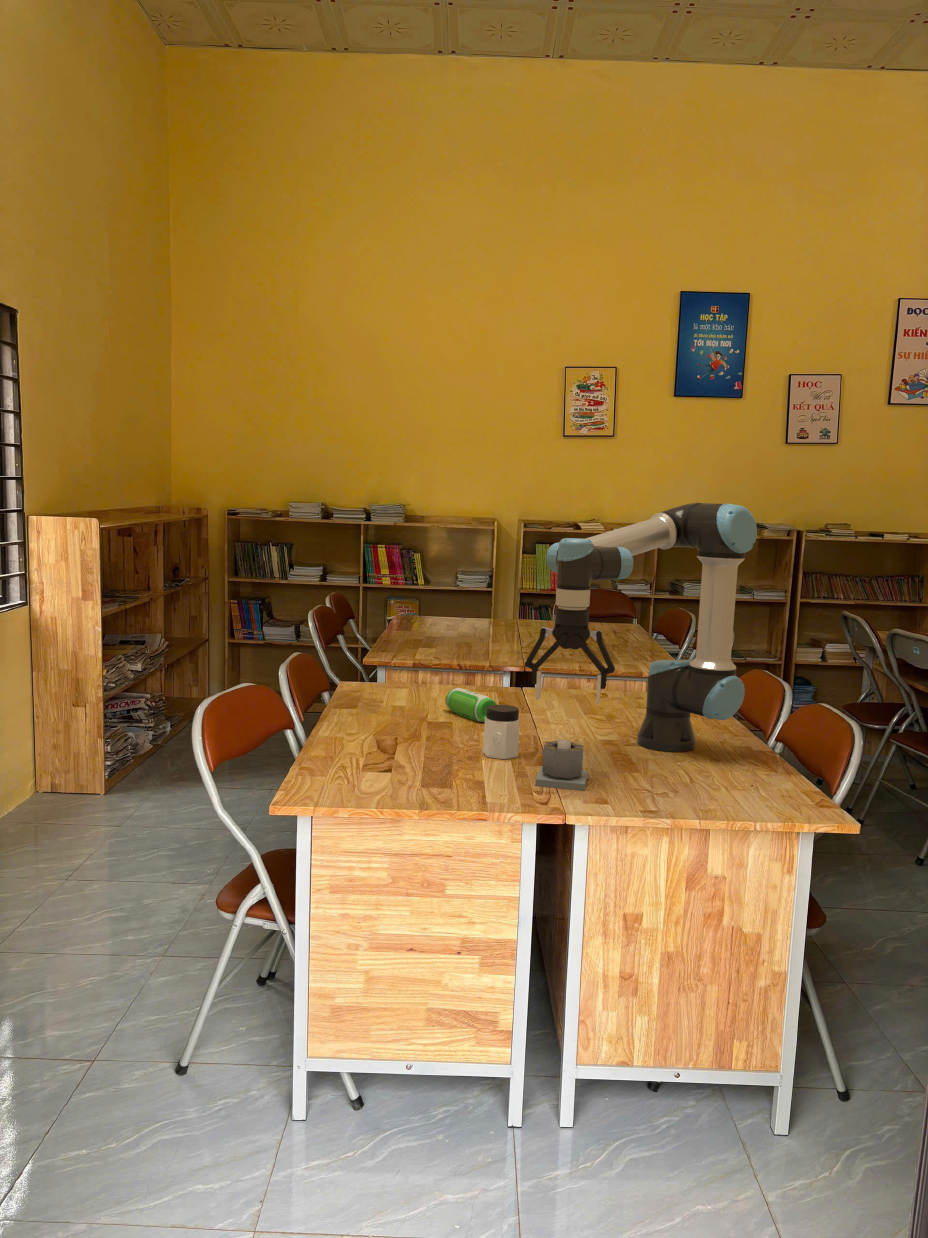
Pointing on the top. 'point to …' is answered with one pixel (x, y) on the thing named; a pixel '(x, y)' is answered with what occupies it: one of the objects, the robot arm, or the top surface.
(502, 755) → the jar
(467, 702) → the speaker
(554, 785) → the shaft stand
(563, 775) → the tube
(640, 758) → the top surface
